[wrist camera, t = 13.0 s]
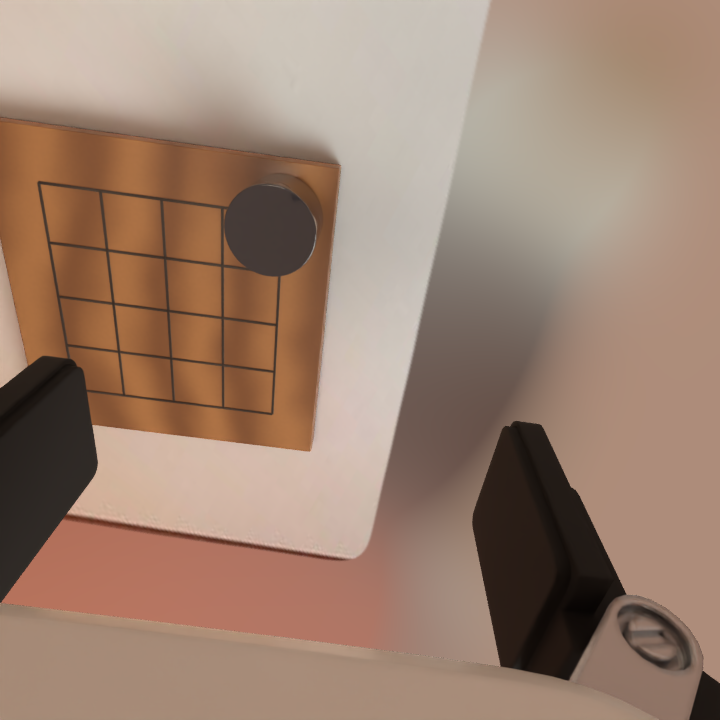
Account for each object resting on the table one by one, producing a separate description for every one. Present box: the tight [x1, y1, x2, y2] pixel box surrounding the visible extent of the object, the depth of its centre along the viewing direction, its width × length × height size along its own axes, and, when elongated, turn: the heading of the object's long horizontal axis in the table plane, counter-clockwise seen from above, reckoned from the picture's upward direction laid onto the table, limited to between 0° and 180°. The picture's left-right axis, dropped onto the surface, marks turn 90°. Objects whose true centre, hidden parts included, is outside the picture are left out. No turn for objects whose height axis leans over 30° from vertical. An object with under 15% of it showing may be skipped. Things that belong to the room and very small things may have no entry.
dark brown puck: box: [224, 174, 323, 277], centre depth 27 cm, size 5×5×4 cm
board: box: [0, 117, 341, 452], centre depth 33 cm, size 20×20×2 cm
